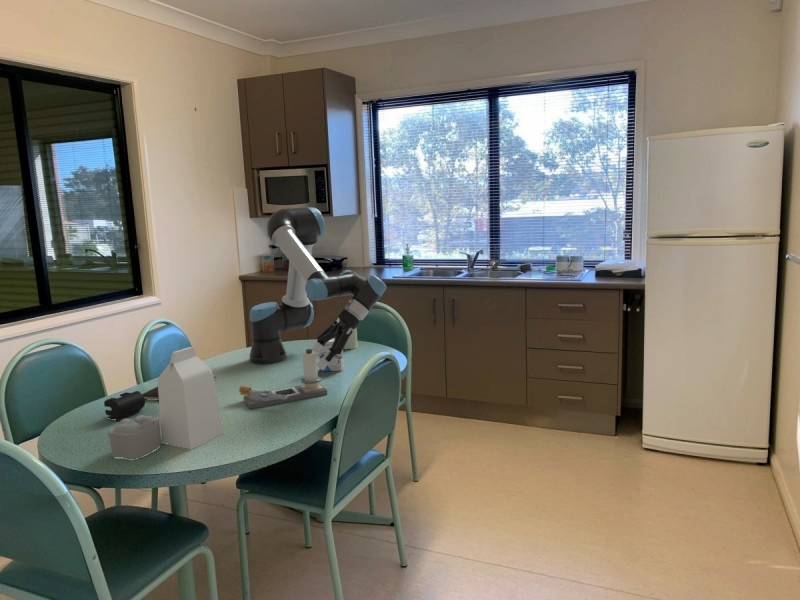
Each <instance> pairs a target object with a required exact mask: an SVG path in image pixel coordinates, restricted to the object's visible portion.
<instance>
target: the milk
mask: <svg viewBox="0 0 800 600" xmlns="http://www.w3.org/2000/svg"><path fill="white" fill-rule="evenodd" d="M214 377H215V375H214V373H213V371H212V370H211V369H210V367H209V366H207V364H206V363H205V362H204V361H203V360H202V359H201V358H199V356H198V355H197V354H196V351H195V349H194V347H192V346H189V347H186V348H181V349H179V350H178V349H177V350H175V351H173V352H172V354H171V357H170V361H169V363H168V365H167V366H166V367H165V369H164V370H163V371H162V372H161V373H160V375H159V377H158V378H157V387H158V394H159V401H158V403H159V404H158V406H159V407H158V408H159V423H160V434H161V442H164V443H168V444H171V445H170V446H172V445H175V446H174V447H176V446H179V447H178V448H180V447H183V448H182V449H184V448H187V449H186V450H189V449H192V450H194V449H196V448H197V447H196V446H198V445H200V444H202V445H203V443H204V442H206V441H208V442H210V441H211V440H210V439H212V440H214V439H216V438H217V436H218V437H219V435H220V436H222V435H223V433H224V428H223V423H222V417H221V411H220V406H219V405H220V404H219V400H218V395H217V394H218V393H217V388H216V380H215V381H214ZM221 434H222V435H221ZM215 437H216V438H215ZM213 438H214V439H213ZM209 440H210V441H209ZM206 443H207V442H206ZM168 444H167V445H168ZM204 444H205V443H204ZM200 446H201V445H200ZM195 447H196V448H195ZM198 447H199V446H198ZM193 448H194V449H193Z"/></svg>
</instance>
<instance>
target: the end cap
mask: <svg viewBox="0 0 800 600" xmlns="http://www.w3.org/2000/svg"><path fill="white" fill-rule="evenodd" d="M142 394H143V393H142V392H140V391H139V390H136V391H132V392H124V393H121V394H119V397H117V398H116V397H110V398H107V399H106V400H104V402H103V404H104V407H107V408H110V409H111V410H109V409H105V410H104V411H105V415H106V416H107V417H106V418H110V419H116V421H118V419H119V420H121V419H124V418H126V417H128V416H131V415H132V413H133V414H135V413H137V412H136V411H138V412H139V410H140V411H141V410H142V409H143V408H145V406H146V405H145V404H146V400H145V399H144V396H143V395H142ZM134 412H135V413H134ZM130 414H131V415H130ZM127 415H128V416H127ZM125 416H126V417H125ZM123 417H124V418H123ZM120 418H121V419H120Z"/></svg>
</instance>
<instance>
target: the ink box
mask: <svg viewBox="0 0 800 600" xmlns="http://www.w3.org/2000/svg"><path fill="white" fill-rule="evenodd" d="M334 339H335V338H332V339H331V340H329V341H328V342H326V343H325V346H323V348H322V349H321V350H320V351H319V353H318V356H319V361H320V360H321V359H322V358H323V357H324V355H325V354H326V353H327V352H328V350H329V348H331V347H332V345H333V342H334ZM344 362H345V361H344V350H342V352H341V354H340V355H338V354H337V355H335V356H334V357H333V359H332V360H331V361H330V363H329V364H328V365H327V366H326V368H325V369H324V370H322V369H320V368H319V369H320V371H319V372H342V371H343V370H344V369H345V363H344Z"/></svg>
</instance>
